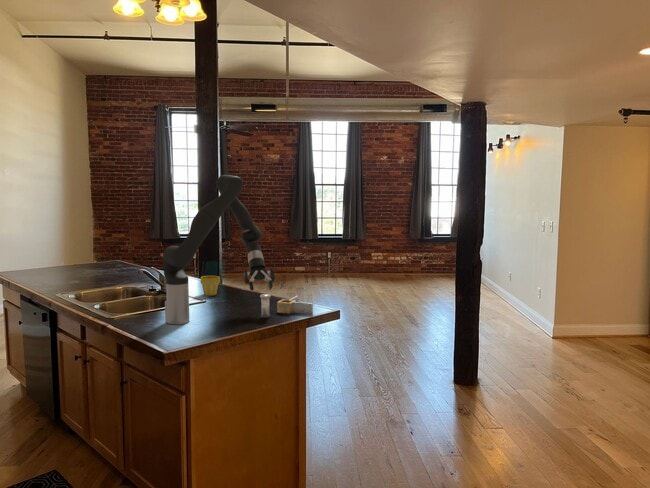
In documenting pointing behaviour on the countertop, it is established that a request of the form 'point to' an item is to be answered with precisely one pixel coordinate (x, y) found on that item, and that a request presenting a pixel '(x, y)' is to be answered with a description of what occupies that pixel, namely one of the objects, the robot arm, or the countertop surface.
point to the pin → (265, 305)
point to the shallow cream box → (294, 306)
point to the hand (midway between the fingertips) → (261, 289)
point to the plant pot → (210, 284)
